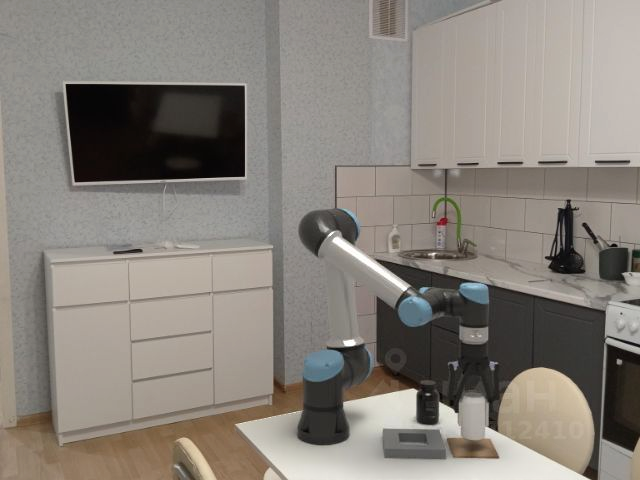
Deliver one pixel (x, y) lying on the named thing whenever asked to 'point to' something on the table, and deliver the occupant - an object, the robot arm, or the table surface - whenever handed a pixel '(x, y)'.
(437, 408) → the supplement bottle
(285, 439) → the table surface
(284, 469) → the table surface
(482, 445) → the pad
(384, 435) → the plate
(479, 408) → the can
